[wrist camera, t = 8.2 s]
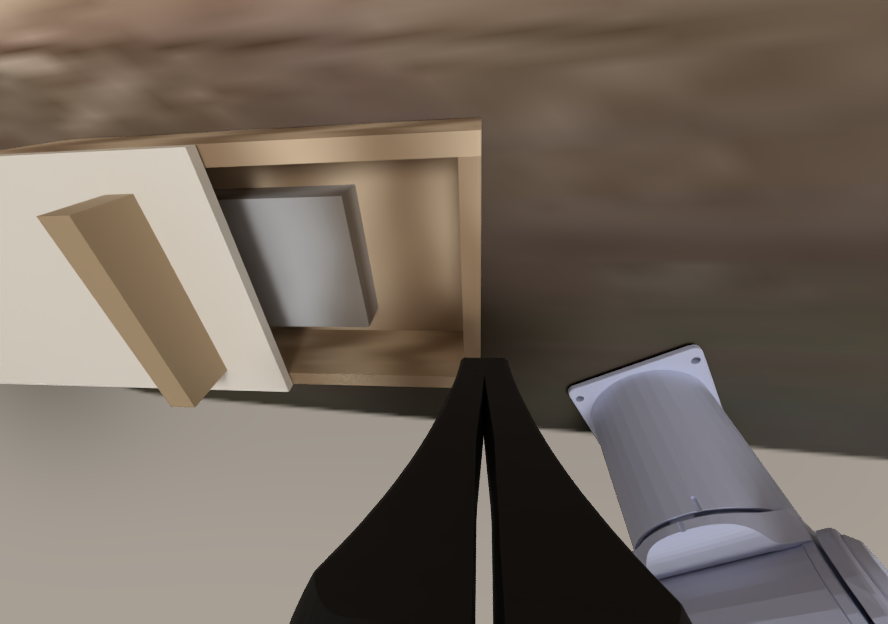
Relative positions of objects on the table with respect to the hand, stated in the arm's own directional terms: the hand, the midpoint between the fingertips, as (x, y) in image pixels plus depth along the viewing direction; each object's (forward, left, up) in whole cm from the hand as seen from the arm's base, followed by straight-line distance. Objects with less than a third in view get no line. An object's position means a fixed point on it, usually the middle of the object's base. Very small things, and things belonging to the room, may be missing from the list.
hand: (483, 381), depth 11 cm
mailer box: (+6, +9, -9) cm, 14 cm away
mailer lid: (+11, +17, -5) cm, 21 cm away
